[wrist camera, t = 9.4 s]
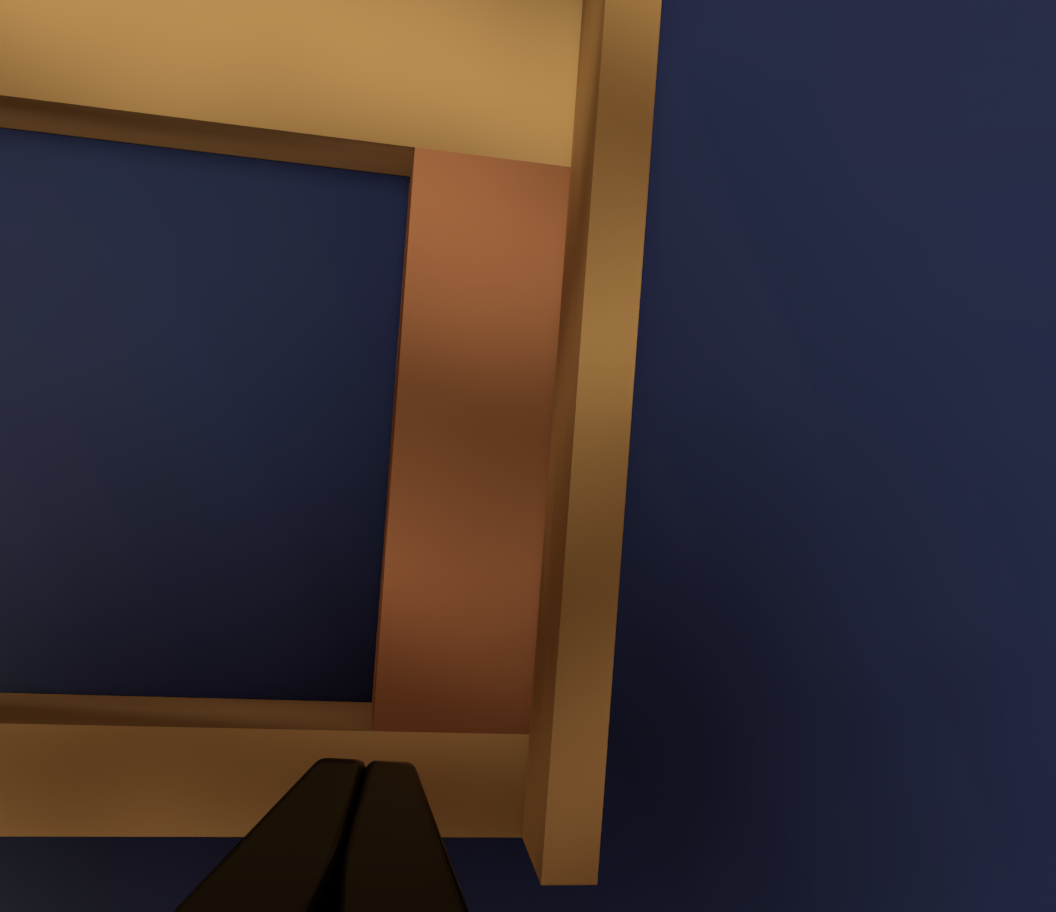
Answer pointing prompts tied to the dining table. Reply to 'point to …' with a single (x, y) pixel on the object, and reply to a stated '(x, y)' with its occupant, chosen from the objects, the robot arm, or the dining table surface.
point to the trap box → (402, 396)
